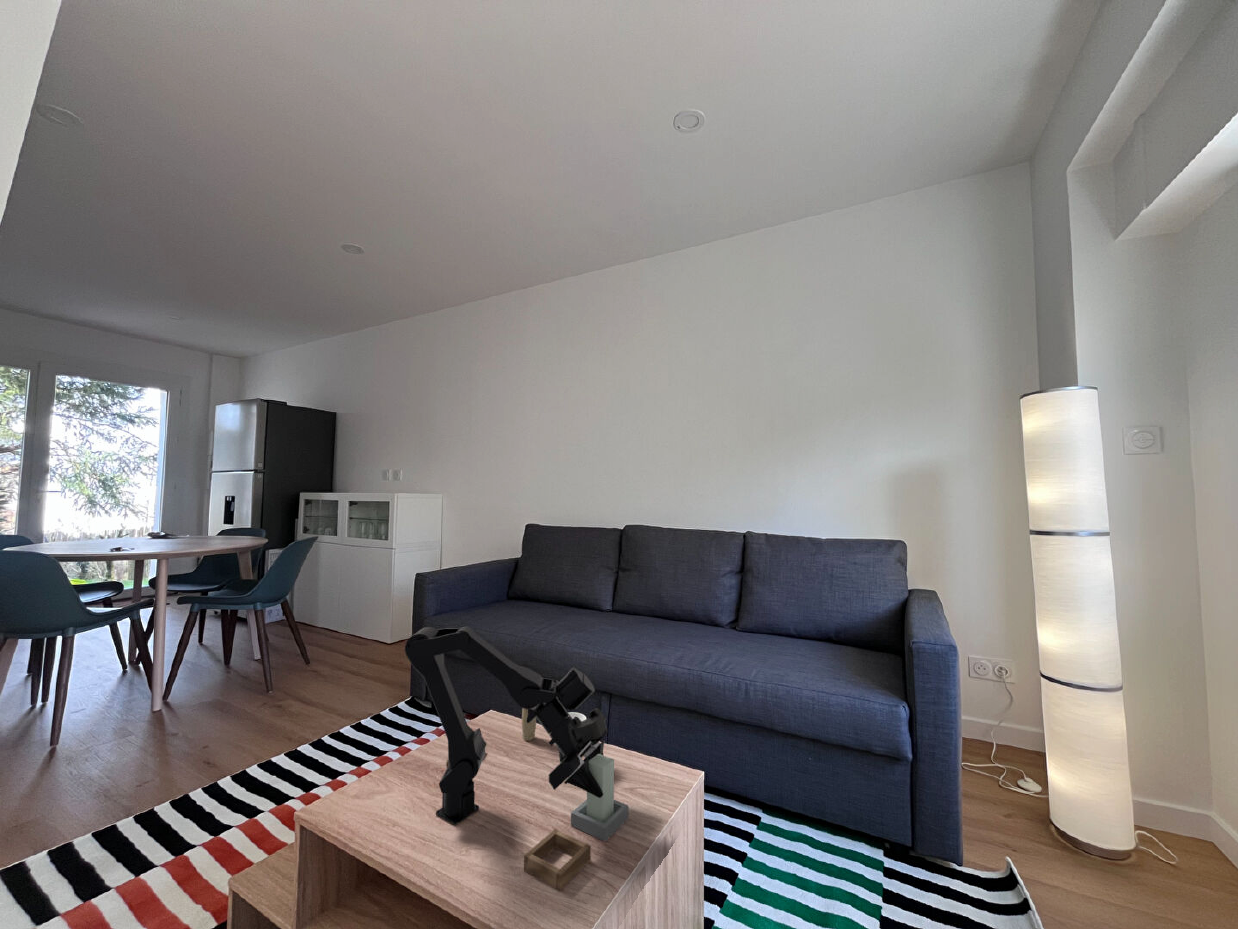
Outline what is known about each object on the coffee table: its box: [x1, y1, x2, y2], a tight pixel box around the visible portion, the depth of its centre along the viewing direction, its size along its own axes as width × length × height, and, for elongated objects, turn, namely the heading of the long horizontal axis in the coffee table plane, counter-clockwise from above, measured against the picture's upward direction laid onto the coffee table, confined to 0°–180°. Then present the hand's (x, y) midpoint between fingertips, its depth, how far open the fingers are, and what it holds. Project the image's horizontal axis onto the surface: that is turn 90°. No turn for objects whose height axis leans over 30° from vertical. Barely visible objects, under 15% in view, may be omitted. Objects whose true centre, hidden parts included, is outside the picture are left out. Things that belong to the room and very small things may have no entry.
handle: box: [521, 707, 537, 742], centre depth 136 cm, size 5×6×15 cm
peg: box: [586, 754, 615, 823], centre depth 100 cm, size 4×4×12 cm
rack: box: [523, 828, 592, 892], centre depth 88 cm, size 8×8×2 cm
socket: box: [570, 799, 630, 842], centre depth 100 cm, size 8×8×2 cm
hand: (606, 789), depth 100 cm, fingers closed on peg, 5 cm apart
